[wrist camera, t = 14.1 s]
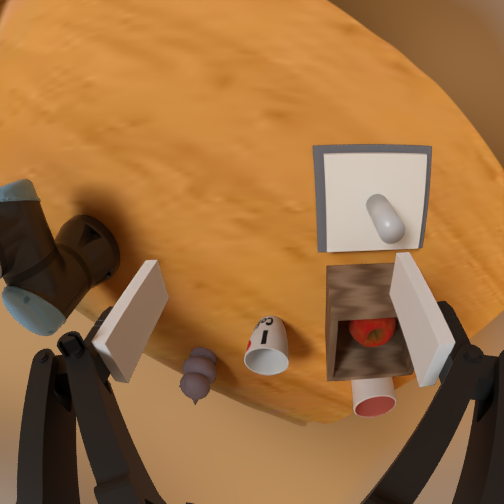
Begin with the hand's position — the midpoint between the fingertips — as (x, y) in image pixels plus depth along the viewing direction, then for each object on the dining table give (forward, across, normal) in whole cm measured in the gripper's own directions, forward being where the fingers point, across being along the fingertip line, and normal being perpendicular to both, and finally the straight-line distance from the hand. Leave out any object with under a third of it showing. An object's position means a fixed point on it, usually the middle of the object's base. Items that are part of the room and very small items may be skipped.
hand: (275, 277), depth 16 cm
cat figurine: (+33, -21, -46) cm, 61 cm away
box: (+32, +14, -28) cm, 45 cm away
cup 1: (+33, -5, -35) cm, 48 cm away
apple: (+32, +14, -28) cm, 45 cm away
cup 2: (+32, +19, -52) cm, 64 cm away
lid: (+32, +14, -8) cm, 36 cm away
